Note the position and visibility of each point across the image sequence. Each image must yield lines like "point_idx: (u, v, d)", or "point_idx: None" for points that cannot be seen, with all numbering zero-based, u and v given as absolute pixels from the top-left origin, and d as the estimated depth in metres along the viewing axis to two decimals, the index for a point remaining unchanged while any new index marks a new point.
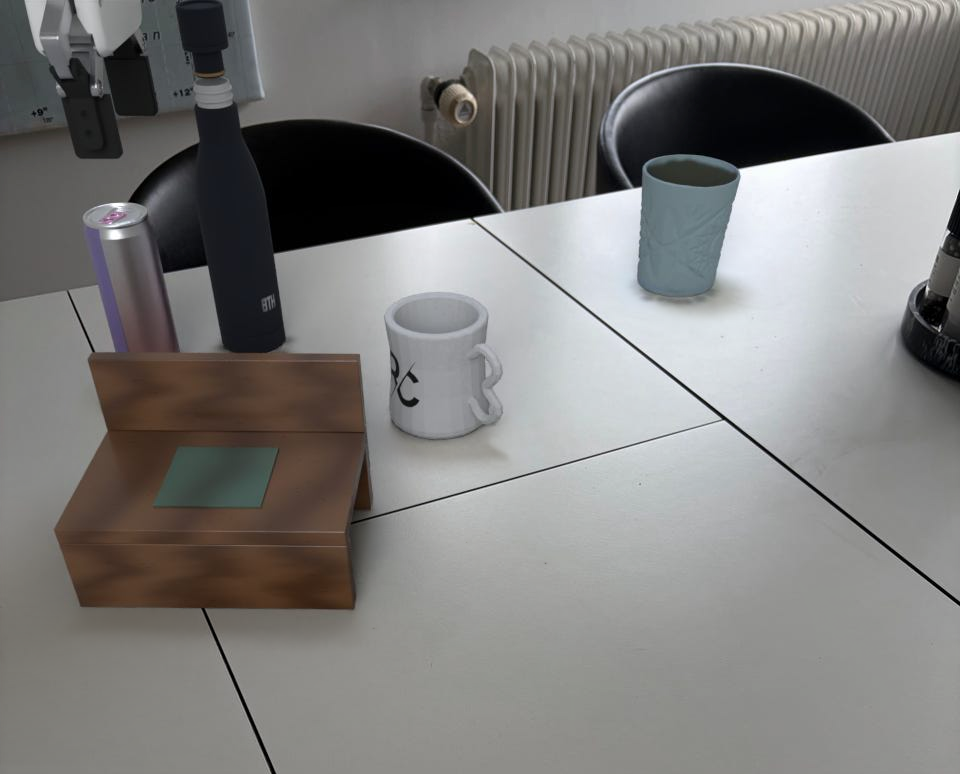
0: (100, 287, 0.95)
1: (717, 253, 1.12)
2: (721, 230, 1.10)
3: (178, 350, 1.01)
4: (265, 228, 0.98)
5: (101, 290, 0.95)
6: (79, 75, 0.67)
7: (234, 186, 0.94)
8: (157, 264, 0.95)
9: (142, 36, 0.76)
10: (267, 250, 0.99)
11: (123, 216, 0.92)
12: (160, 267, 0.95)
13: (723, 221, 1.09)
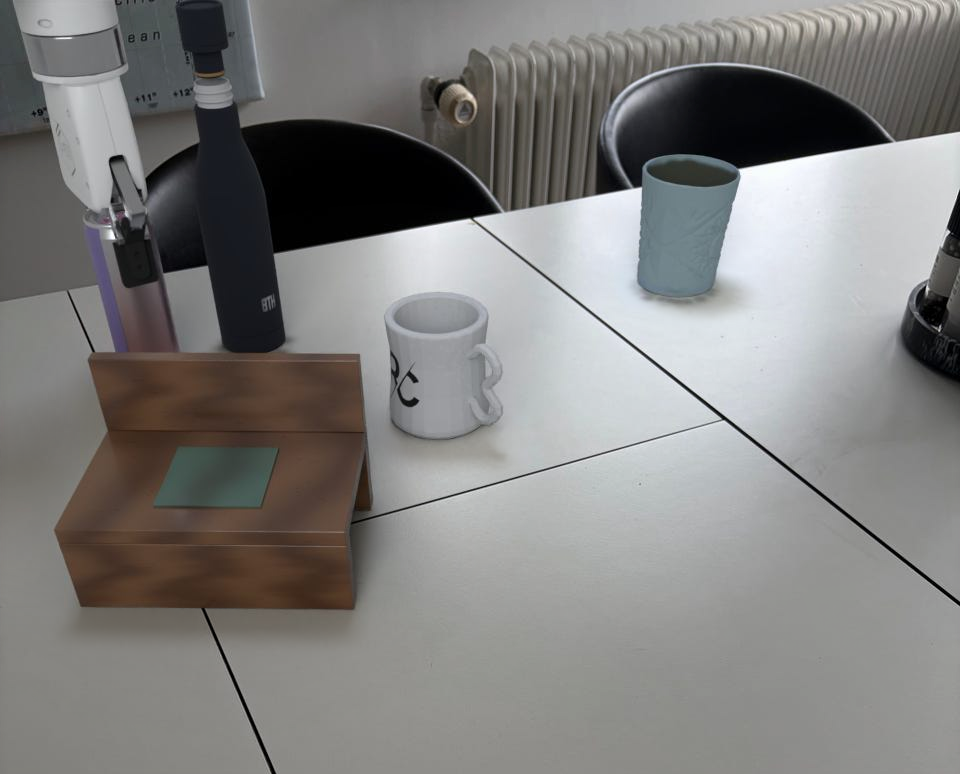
0: (100, 287, 0.95)
1: (717, 253, 1.12)
2: (721, 230, 1.10)
3: (178, 350, 1.01)
4: (265, 228, 0.98)
5: (101, 290, 0.95)
6: (144, 226, 0.89)
7: (234, 186, 0.94)
8: (157, 264, 0.95)
9: None
10: (267, 250, 0.99)
11: (123, 216, 0.92)
12: (160, 267, 0.95)
13: (723, 221, 1.09)
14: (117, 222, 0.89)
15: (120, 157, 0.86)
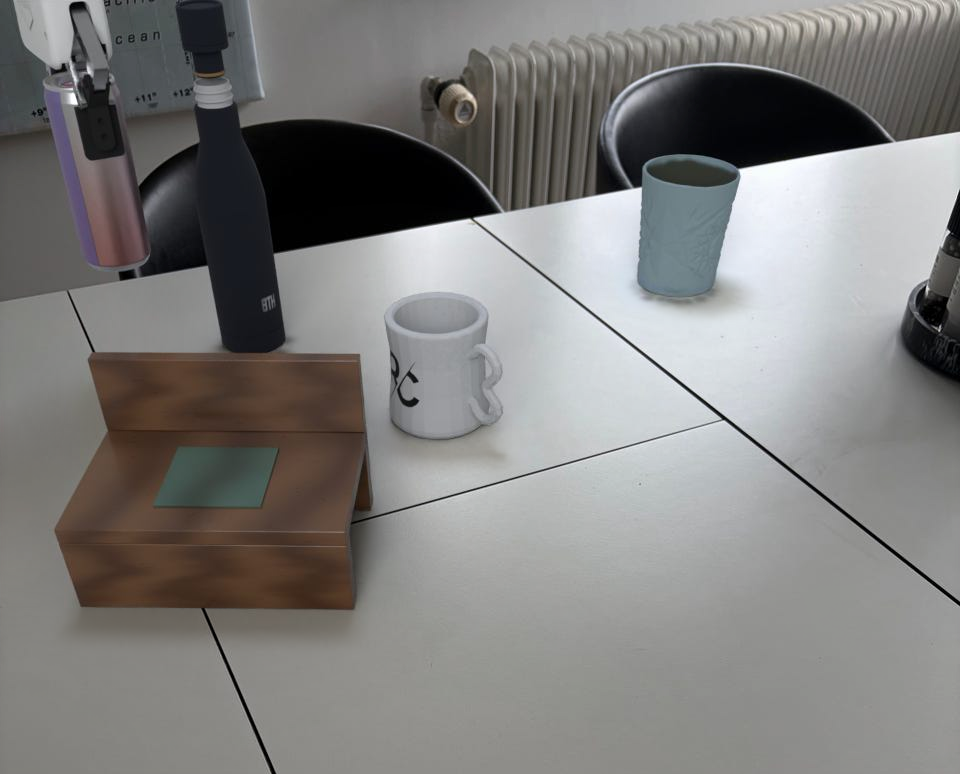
0: (62, 162, 0.87)
1: (717, 253, 1.12)
2: (721, 230, 1.10)
3: (147, 240, 0.93)
4: (265, 228, 0.98)
5: (63, 165, 0.87)
6: (108, 86, 0.81)
7: (234, 186, 0.94)
8: (124, 138, 0.87)
9: None
10: (267, 250, 0.99)
11: None
12: (128, 143, 0.88)
13: (723, 221, 1.09)
14: (79, 82, 0.81)
15: (82, 5, 0.78)
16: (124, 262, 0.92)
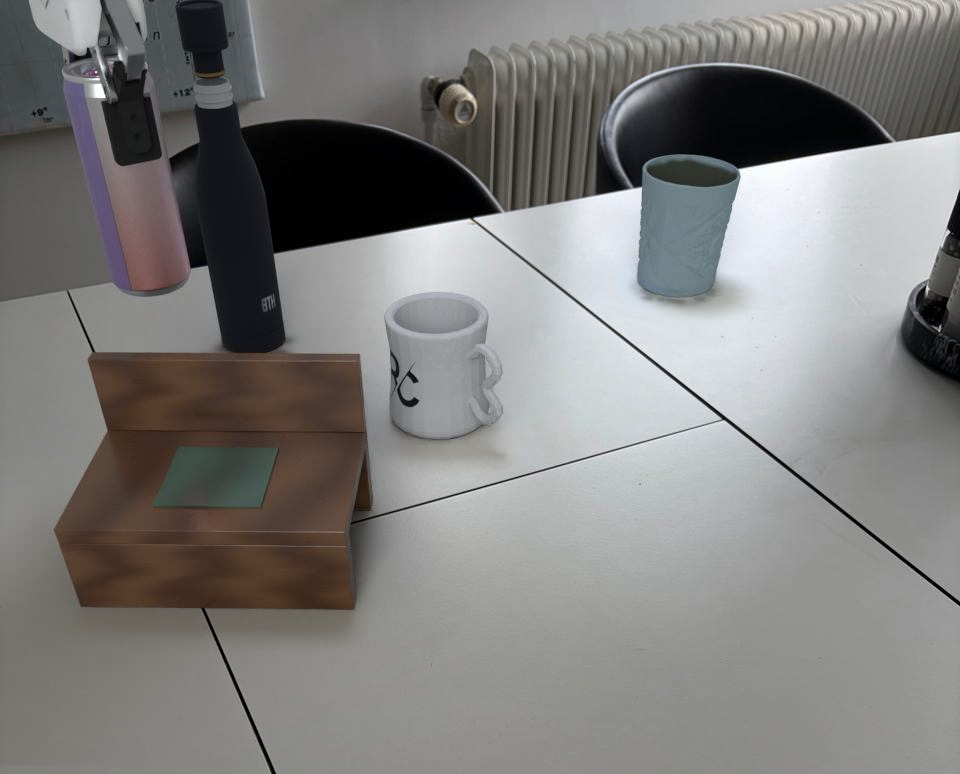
0: (86, 168, 0.72)
1: (717, 253, 1.12)
2: (721, 230, 1.10)
3: (187, 258, 0.79)
4: (265, 228, 0.98)
5: (87, 172, 0.73)
6: (144, 75, 0.66)
7: (234, 186, 0.94)
8: (160, 137, 0.72)
9: None
10: (267, 250, 0.99)
11: None
12: (164, 143, 0.73)
13: (723, 221, 1.09)
14: (107, 70, 0.66)
15: None
16: (161, 285, 0.77)
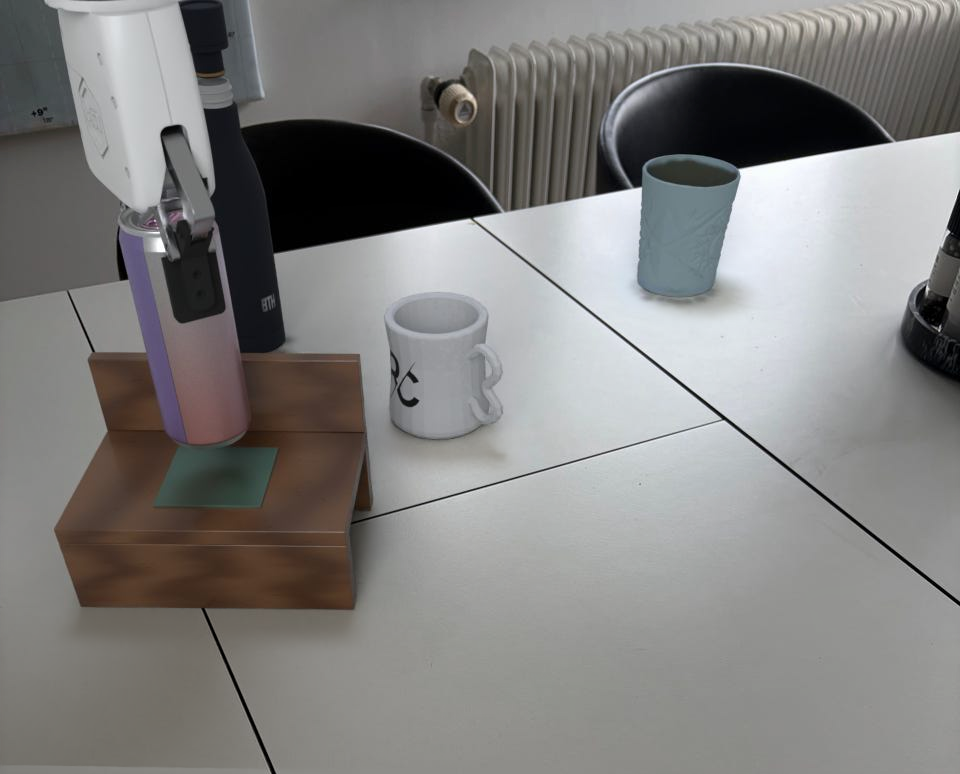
0: (141, 320, 0.65)
1: (717, 253, 1.12)
2: (721, 230, 1.10)
3: (248, 406, 0.72)
4: (265, 228, 0.98)
5: (143, 324, 0.66)
6: (210, 233, 0.59)
7: (234, 186, 0.94)
8: (224, 286, 0.65)
9: None
10: (267, 250, 0.99)
11: (177, 217, 0.63)
12: (228, 291, 0.66)
13: (723, 221, 1.09)
14: (170, 227, 0.59)
15: (177, 129, 0.56)
16: (220, 439, 0.70)
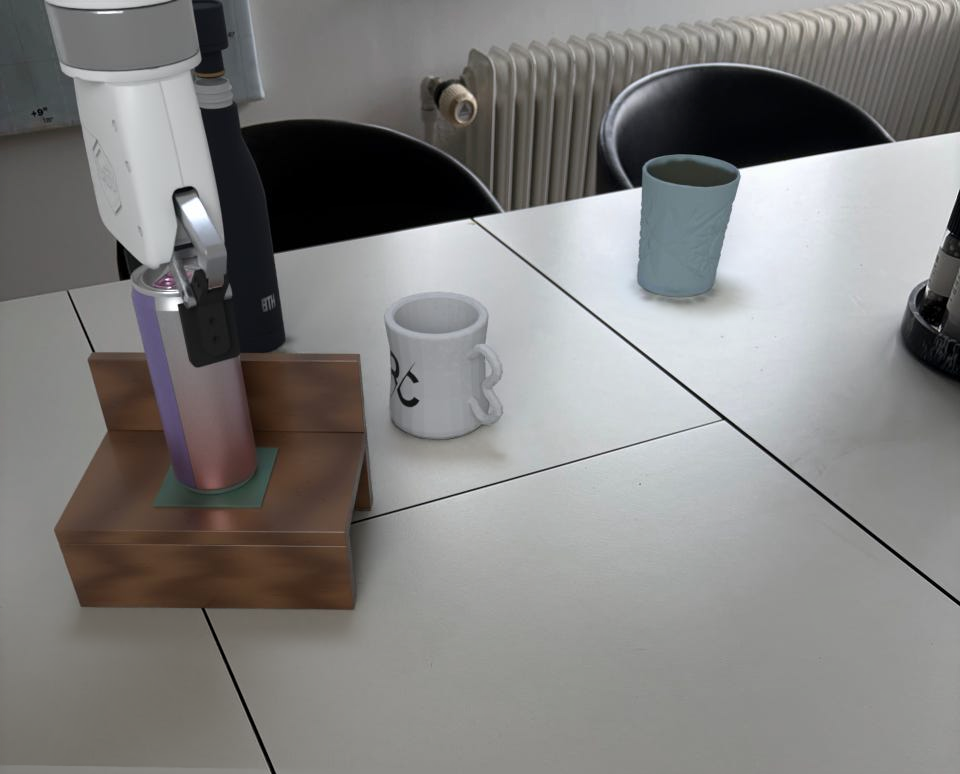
0: (153, 373, 0.68)
1: (717, 253, 1.12)
2: (721, 230, 1.10)
3: (254, 452, 0.74)
4: (265, 228, 0.98)
5: (154, 377, 0.68)
6: (227, 282, 0.60)
7: (234, 186, 0.94)
8: None
9: None
10: (267, 250, 0.99)
11: None
12: None
13: (723, 221, 1.09)
14: (184, 274, 0.60)
15: None
16: (228, 484, 0.73)
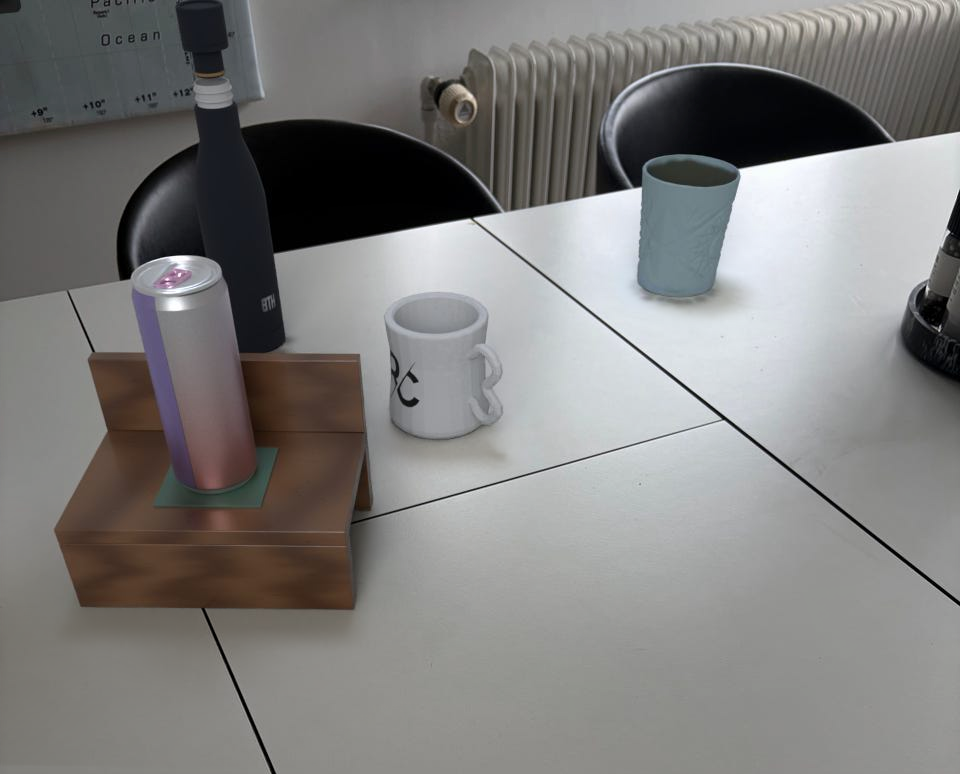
0: (153, 373, 0.68)
1: (717, 253, 1.12)
2: (721, 230, 1.10)
3: (254, 452, 0.74)
4: (265, 228, 0.98)
5: (154, 377, 0.68)
6: None
7: (234, 186, 0.94)
8: (232, 341, 0.68)
9: None
10: (267, 250, 0.99)
11: (187, 276, 0.65)
12: (236, 344, 0.69)
13: (723, 221, 1.09)
14: None
15: None
16: (228, 484, 0.73)
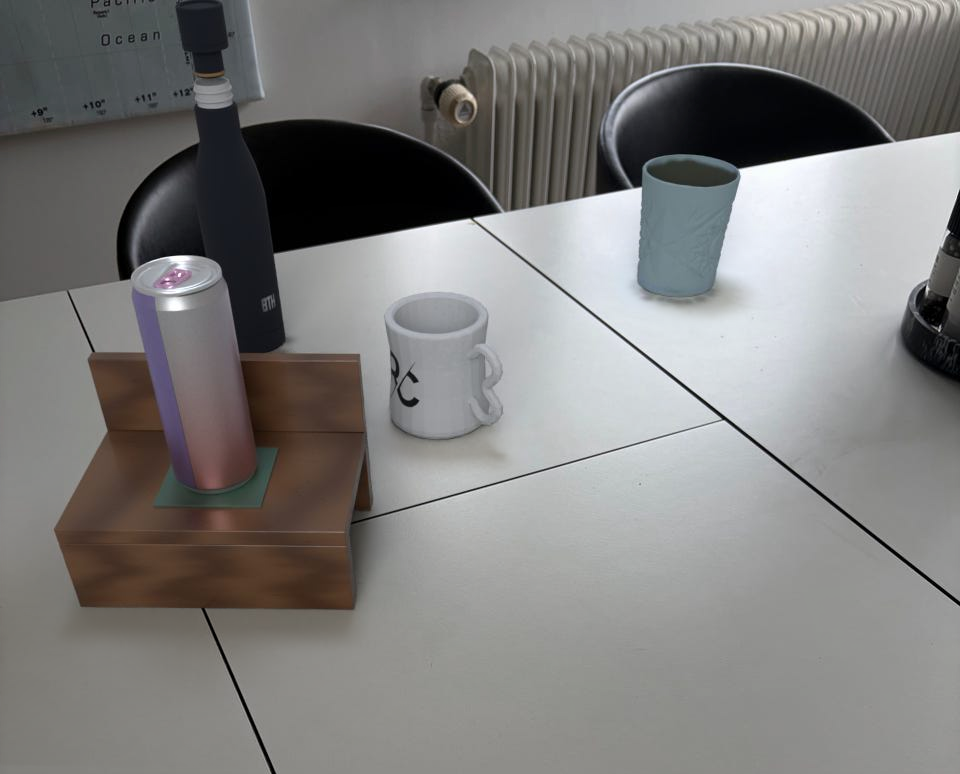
0: (153, 373, 0.68)
1: (717, 253, 1.12)
2: (721, 230, 1.10)
3: (254, 452, 0.74)
4: (265, 228, 0.98)
5: (154, 377, 0.68)
6: None
7: (234, 186, 0.94)
8: (232, 341, 0.68)
9: None
10: (267, 250, 0.99)
11: (187, 276, 0.65)
12: (236, 344, 0.69)
13: (723, 221, 1.09)
14: None
15: None
16: (228, 484, 0.73)
